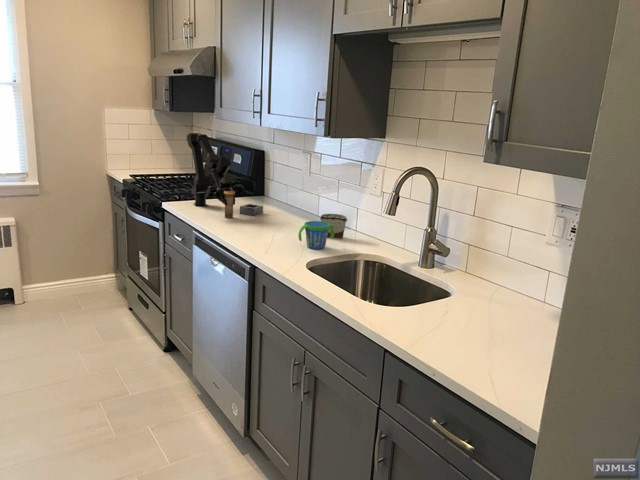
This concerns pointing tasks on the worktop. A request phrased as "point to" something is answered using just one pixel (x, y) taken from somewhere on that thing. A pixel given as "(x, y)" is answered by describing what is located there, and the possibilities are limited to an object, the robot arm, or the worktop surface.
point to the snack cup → (316, 234)
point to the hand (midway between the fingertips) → (230, 204)
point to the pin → (229, 204)
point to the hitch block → (251, 209)
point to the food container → (335, 224)
